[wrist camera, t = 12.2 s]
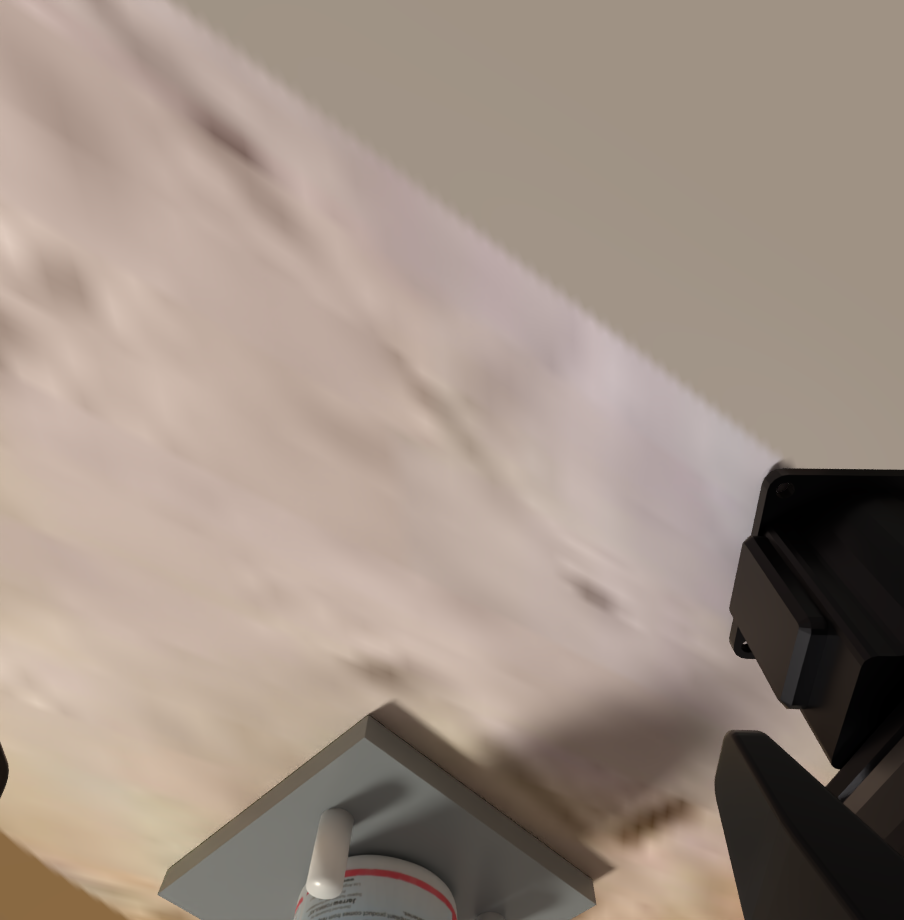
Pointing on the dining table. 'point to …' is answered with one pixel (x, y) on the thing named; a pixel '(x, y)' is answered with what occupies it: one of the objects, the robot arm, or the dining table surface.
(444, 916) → the pill bottle
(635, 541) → the dining table surface
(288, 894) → the pin tray
